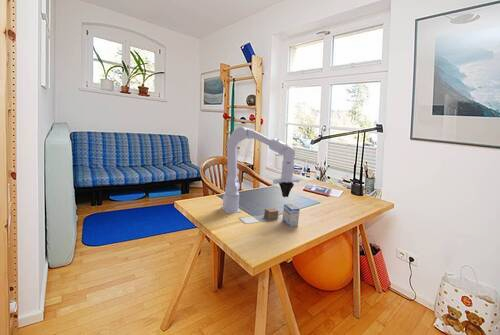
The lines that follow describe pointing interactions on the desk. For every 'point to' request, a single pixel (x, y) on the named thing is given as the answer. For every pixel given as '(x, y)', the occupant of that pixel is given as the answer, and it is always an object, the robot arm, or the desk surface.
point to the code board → (256, 219)
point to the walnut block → (271, 213)
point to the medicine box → (290, 215)
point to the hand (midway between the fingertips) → (285, 196)
